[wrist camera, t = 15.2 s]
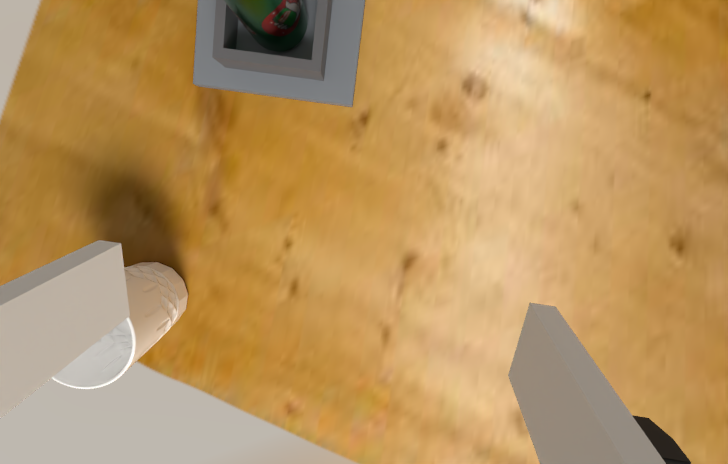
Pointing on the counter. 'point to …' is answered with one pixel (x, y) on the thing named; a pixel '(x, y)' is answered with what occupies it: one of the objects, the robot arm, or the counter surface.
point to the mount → (282, 54)
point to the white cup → (131, 327)
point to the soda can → (272, 21)
